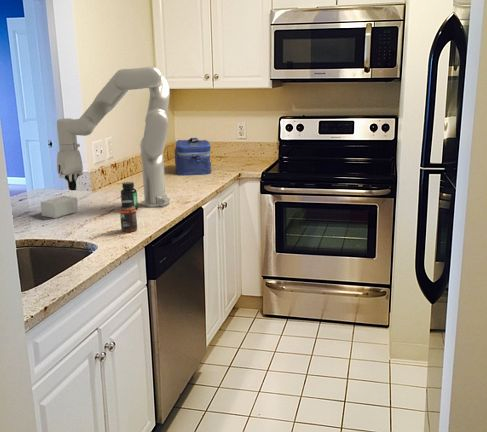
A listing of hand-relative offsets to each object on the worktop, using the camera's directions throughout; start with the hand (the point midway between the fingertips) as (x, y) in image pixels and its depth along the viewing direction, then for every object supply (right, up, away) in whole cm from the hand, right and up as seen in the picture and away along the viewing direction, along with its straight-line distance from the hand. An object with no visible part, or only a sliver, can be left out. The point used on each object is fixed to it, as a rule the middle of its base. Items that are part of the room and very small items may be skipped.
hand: (72, 189), depth 243 cm
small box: (-1, -6, 0) cm, 6 cm away
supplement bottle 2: (+31, -17, -32) cm, 48 cm away
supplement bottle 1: (+25, -9, 0) cm, 27 cm away
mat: (-7, -11, -6) cm, 14 cm away
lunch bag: (+45, +15, +93) cm, 104 cm away
